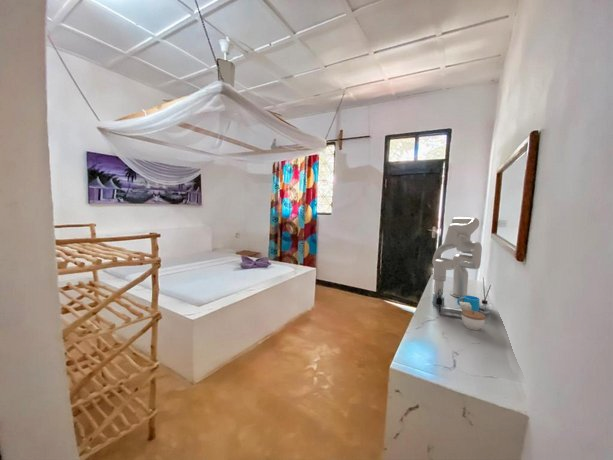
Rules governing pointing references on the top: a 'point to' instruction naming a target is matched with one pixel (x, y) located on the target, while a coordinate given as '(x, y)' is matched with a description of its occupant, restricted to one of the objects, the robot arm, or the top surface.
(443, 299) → the block
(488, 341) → the top surface
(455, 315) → the rail plate
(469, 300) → the mug
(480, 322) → the lidded jar
